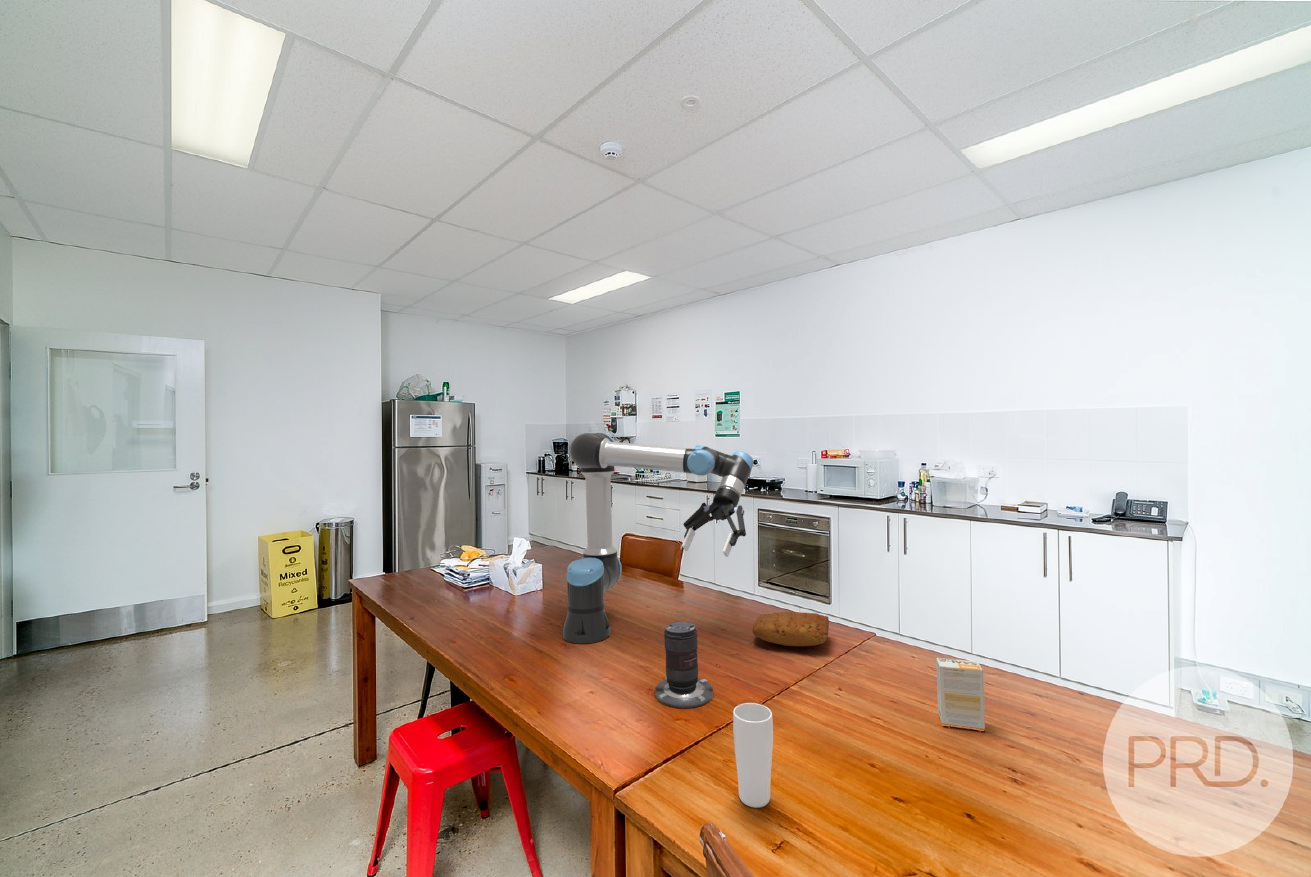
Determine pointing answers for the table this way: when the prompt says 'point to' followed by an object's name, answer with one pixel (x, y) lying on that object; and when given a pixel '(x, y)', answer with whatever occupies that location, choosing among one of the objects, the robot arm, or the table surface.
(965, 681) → the supplement box
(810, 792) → the table surface
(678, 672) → the camera lens
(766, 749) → the drinking glass
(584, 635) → the robot arm
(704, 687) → the mount plate
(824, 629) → the bread loaf
